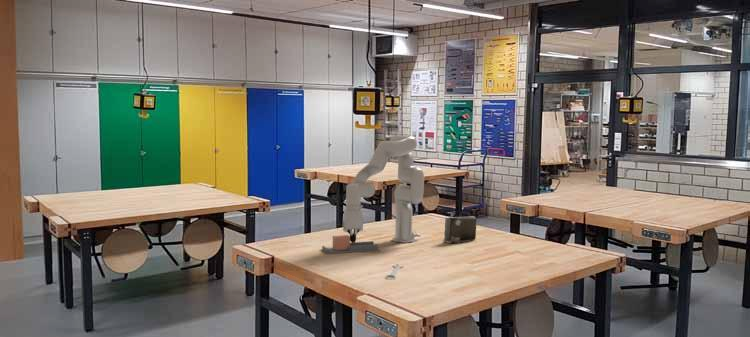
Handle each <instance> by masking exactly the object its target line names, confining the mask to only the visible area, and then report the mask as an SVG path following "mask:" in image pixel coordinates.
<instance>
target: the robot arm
mask: <svg viewBox="0 0 750 337" xmlns="http://www.w3.org/2000/svg"><path fill="white" fill-rule="evenodd" d="M417 143H418V142H417V140H416V138H415V137H414V136H410V135H393V136H391V137H390V139H389V140H382V141H380V142H379V143H378V145H377V147H376V149H375V151H374V153H373V155H372V156H371V159H370V161H369V162H368V163H367V164H366V165H365V166H363V167H362V169H360V170H359V171H358V172H357V174H356V175H355V177H354V179H353V181H352V182H351V183H348V184H346V189H345V192H346V193H345V202H346V204H345V209H344V211H343V216H342V228H343V229H342V231H343V232H344V233H348V234H349V237H350V243H353V242H354V243H355V242H357V235H358V234H359V232H362V231H364V218H363V210H362V208H364V205H362V202H361V198H371V197H374V195H375V194H376V187H375V186H374V184H372V183H368V182H367V181H368V179H370V178H371V177H373V176H375V175H378V174H379V173H381V172H383V171H384V169H385V168H386V165H387V163H388V162H389V159H390V158H391V157H392V158H398V160H397V162H398V163H397V180H398V182H401V183H404V184H403V185H402V184H401V185H398V186H397V187H395V190H394V193H393V194H394V201H395V223H394V224H395V225H394V226H395V229H394V230H395V231H394V234H395V236H393V237H392V241H393V242H396V243H403V244H405V243H413V242H415V241H416V240H415V239H416V238H417V237H418V238H420V237H421V234H420V233H419V232H417V233H416V232H413V213H414V212H413V210H414V209H413V205H414V204H415V205H418V204H420V203H421V202H422V201H423V199H424V190H425V174H424V171H423V169H421V168H419V167H417V166H414V155H413V151H415V150H416V148H417V146H418V145H417ZM405 184H410V185H405Z"/></svg>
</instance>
